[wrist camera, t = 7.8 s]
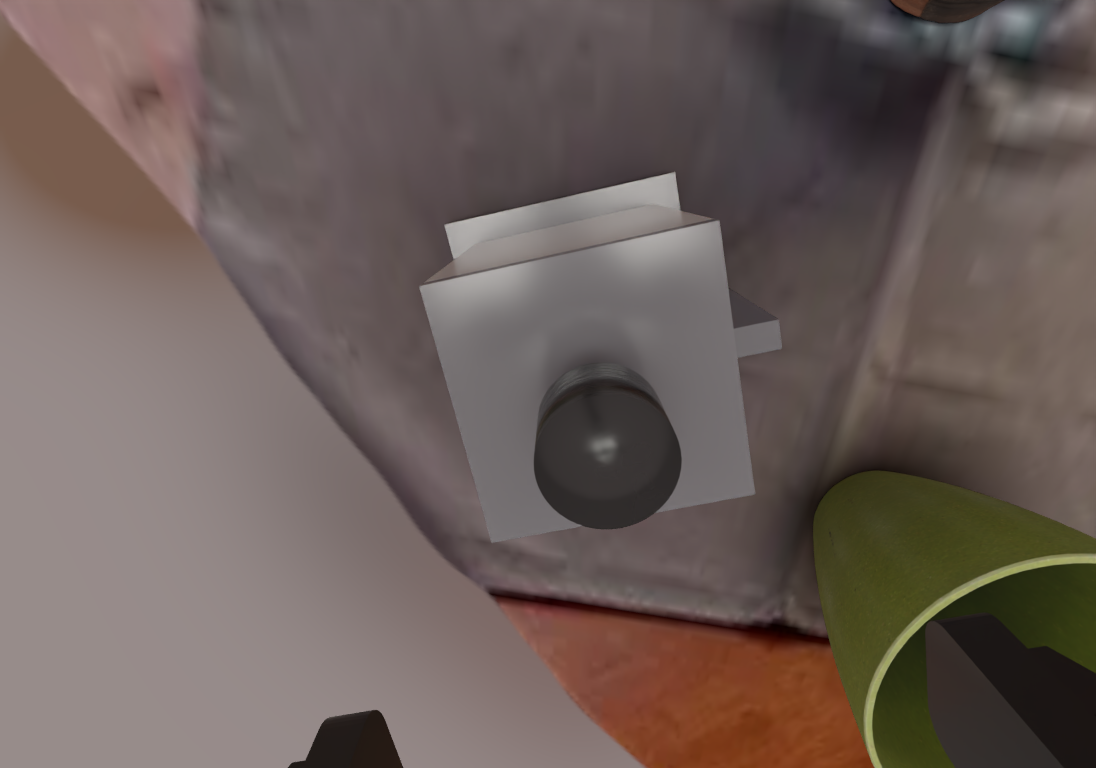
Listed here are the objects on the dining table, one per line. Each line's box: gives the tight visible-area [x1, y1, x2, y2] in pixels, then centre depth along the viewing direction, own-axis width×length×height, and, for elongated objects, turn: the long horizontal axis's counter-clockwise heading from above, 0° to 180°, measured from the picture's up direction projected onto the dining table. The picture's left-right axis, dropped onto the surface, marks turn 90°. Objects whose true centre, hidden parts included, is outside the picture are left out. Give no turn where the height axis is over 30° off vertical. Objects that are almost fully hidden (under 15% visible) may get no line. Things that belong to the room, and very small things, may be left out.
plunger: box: [534, 363, 682, 529], centre depth 26 cm, size 8×8×19 cm
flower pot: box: [813, 470, 1096, 768], centre depth 34 cm, size 15×15×16 cm
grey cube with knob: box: [419, 172, 782, 543], centre depth 30 cm, size 13×14×16 cm
